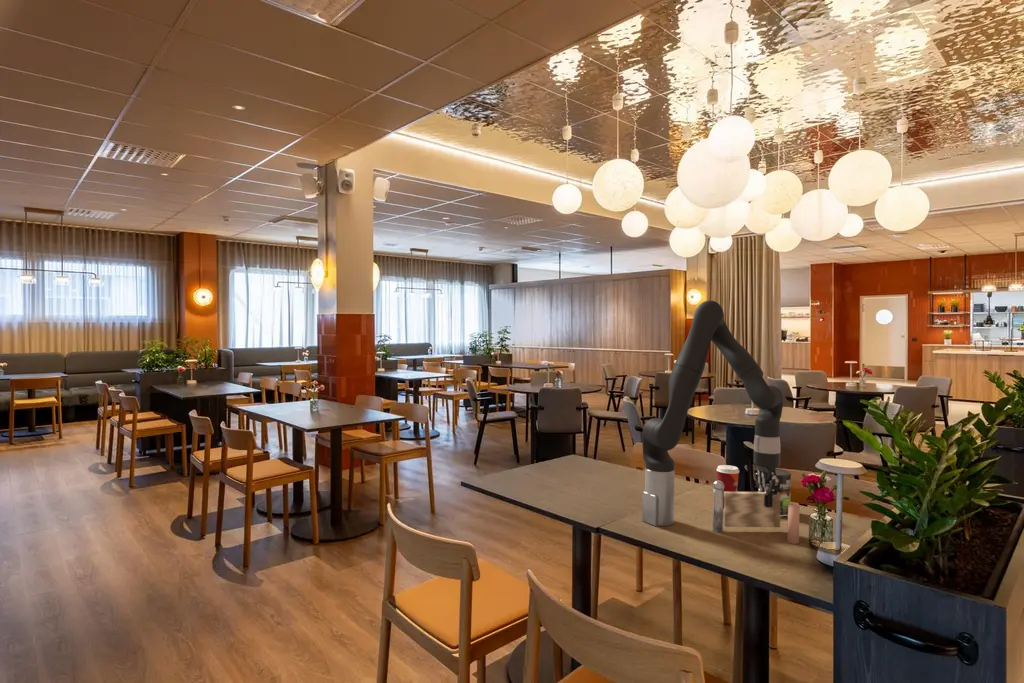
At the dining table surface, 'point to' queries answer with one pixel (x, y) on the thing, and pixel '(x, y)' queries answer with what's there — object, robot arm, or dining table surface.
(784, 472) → the coffee can
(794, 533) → the post
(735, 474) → the paper cup
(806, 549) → the dining table surface
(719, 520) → the hinge post
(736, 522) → the light wood flat panel
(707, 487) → the dining table surface
